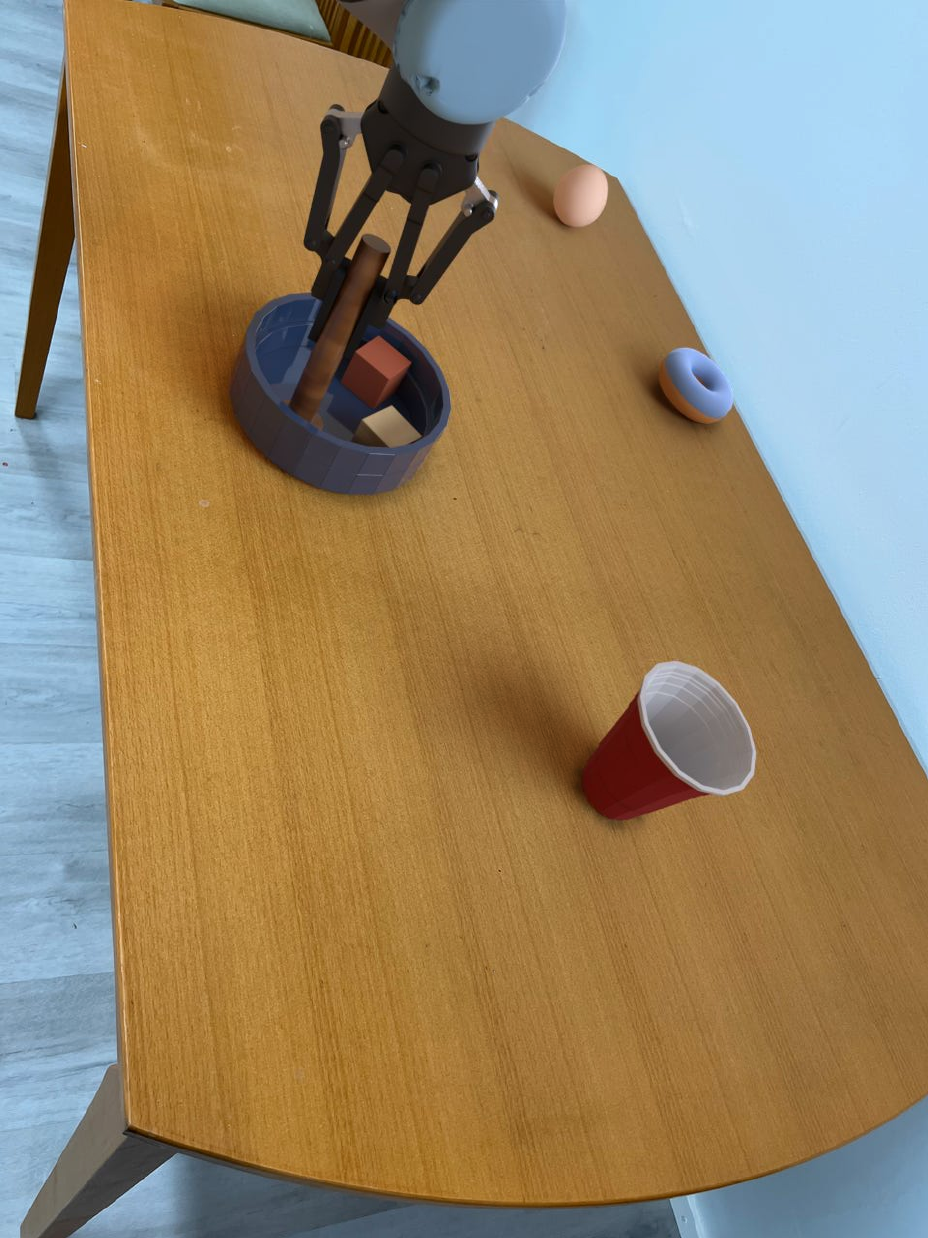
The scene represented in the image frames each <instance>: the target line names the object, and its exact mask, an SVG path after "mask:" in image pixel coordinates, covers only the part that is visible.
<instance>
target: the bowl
mask: <svg viewBox="0 0 928 1238" xmlns="http://www.w3.org/2000/svg"><path fill="white" fill-rule="evenodd" d="M322 302H323V301H321V300H319V299H317V298H315V297H313V296H311V291H309V292H297V293H295V292H294V293H287V294H286V295H285V294H284V295H282V296H280V297H276V298H273V299H271V300H269V301H268V302H267V303H266V304H264V305H263V306H262V307H261V308H259V309H258V310H257V311H256V312H255V313H254V315H253V317H252V318H251V319H250V322H249V324H248V326H247V328H246V330H245V332H244V336H243V339H242V341H241V344H240V347H239V350H238V352H237V355H236V358H235V361H234V364H233V367H232V369H231V372H230V377H229V390H228V391H229V392H228V394H229V399H230V402H231V406H232V410H233V413H234V416H235V419H236V420H237V422H238V424H239V425H240V427H241V429H242V430H243V432H244V433H245V435H246V437H247V438H248V439H249V441H250V442H251V443H252V444H253V445H254V446H255V447H256V449H257V450H258V451H259V452H260V453H261V454H262V455H263V456H264V457H265V458H266V459H267V460H269V461H270V463H272V464H273V465H275V466H276V467H277V468H279V469H280V470H282V471H283V472H285V473H287V474H288V475H289V476H291V477H292V478H295V479H297V480H299V481H301V482H302V483H305V484H307V485H310V486H311V487H312V486H313V487H314V488H317V489H320V490H324V491H327V492H330V493H331V492H332V493H336V494H340V495H341V494H342V495H350V496H351V495H353V496H361V495H362V496H374V495H379V494H382V493H383V494H384V493H386V492H391V491H392V492H393V491H394V490H396V489H398V488H400V487H401V486H403V485H405V484H407V483H408V482H410V481H412V480H413V478H414V477H415V476H416V475H417V474H418V472H419V471H420V470H421V468H422V467H423V466H424V465H425V462H426V461H427V459H428V458H429V456H430V455H431V453H432V451H433V450H434V449H435V446H436V445H437V443H438V441H439V440H440V438H441V437H442V435H443V433H444V432H445V431H446V428H447V427H448V424H449V419H450V416H451V412H452V401H451V392H450V388H449V385H448V382H447V380H446V378H445V375H444V373H443V370H442V368H441V367H440V366H439V364H438V363H437V361H436V360H435V358H434V357H433V355H432V354H431V352H430V351H429V350H428V348H426V346H425V345H424V344H422V343H421V341H419V339H417V337H416V336H414V335H413V334H412V332H410V331H409V330H408V329H406V328H405V327H404V326H402V325H401V324H399V323H398V322H397V321H395V320H393V319H392V318H391V317H390V316H389V317H388V319H387V321H386V323H385V325H384V326H383V327H382V328H381V329H377V328H375V327H373V326H371V325H368V327H367V329H366V331H365V333H364V335H363V337H362V339H361V341H360V343H359V345H358V347H357V350H358V349H359V348H361V347H362V346H364V345H365V344H367V343H368V342H370V341H371V340H373V339H374V338H376V337H377V336H378V335H379V336H380V337H381V338H383V339H384V340H385V341H386V342H387V343H389V344H390V345H391V346H392V347H393V348H395V349H396V350H397V351H398V352H399V353H401V354H402V355H403V356H404V357H405V358H407V359H408V360H409V361H410V362H411V365H410V367H409V368H408V370H407V372H406V374H405V376H404V378H403V379H402V381H401V383H400V385H399V387H398V389H397V391H396V392H395V393H394V394H393V395H391V396H390V397H389V398H388V399H386V400H385V401H384V402H382V403H381V404H380V405H378V406H377V407H376V408H375V409H372V408H371V407H370V406H368V405H367V404H366V403H365V402H364V401H362V400H361V399H360V398H359V397H358V396H356V395H355V394H354V393H353V392H352V391H350V390H349V389H348V388H347V387H345V386H344V385H343V384H342V383H341V380H342V378H343V376H344V374H345V372H346V370H347V368H348V365H349V363H350V361H351V360H350V359H348V358H346V357H344V356H343V357H342V359H341V361H340V363H339V366H338V368H337V370H336V372H335V374H334V376H333V379H332V381H331V383H330V385H329V387H328V389H327V392H326V394H325V396H324V398H323V400H322V402H321V405H320V407H319V409H318V411H317V413H318V414H319V415H320V417H321V418H322V421H323V429H322V430H320V429H318V428H316V427H314V426H313V425H311V424H310V423H309V422H307V421H306V420H304V419H303V418H301V417H300V416H299V415H297V414H296V413H294V412H293V411H292V410H291V409H290V408H289V407H288V406H287V405H286V404H285V403H284V402H283V401H282V400H285V399H290V400H291V397H292V395H293V393H294V391H295V388H296V386H297V384H298V381H299V379H300V377H301V375H302V372H303V370H304V368H305V365H306V363H307V361H308V358H309V356H310V354H311V352H312V349H313V347H314V345H315V342H314V341H312V340H310V339H308V335H309V333H310V330H311V328H312V326H313V323H314V321H315V319H316V316H317V314H318V312H319V309H320V307H321V305H322ZM357 350H356V351H357ZM391 405H392V406H393V407H394V408H395V409H396V410H397V411H398V412H399V413H400V414H401V415H402V416H403V417H404V418H405V419H406V420H407V421H408V423H409V424H410V425H411V426H412V427H413V428H414V429H415V430H416V431H417V432H418V433H419V434H420V435H421V436H422V438H421V439H420V440H418V441H417V442H415V443H413V444H408V445H403V446H398V447H393V448H386V447H368V446H364V445H360V444H356V443H353V442H351V440H352V438H353V436H354V434H355V432H356V430H357V428H358V426H359V424H360V423H361V421H362V419H364V418H366V417H368V416H370V415H372V414H374V413H377V412H379V411H381V410H383V409H385V408H387V407H389V406H391Z"/></svg>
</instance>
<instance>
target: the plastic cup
mask: <svg viewBox="0 0 928 1238" xmlns="http://www.w3.org/2000/svg"><path fill="white" fill-rule="evenodd" d="M756 758H757V750H756V745H755V742H754V737H753V733H752V730H751V727H750V725H749V723H748V721H747V719H746V718H745V715H744V714H743V712H742V709H741V708H740V706H739V704H738V703H737V701H736V700H735V699H734V697H732V696H731V694H729V693H728V691H727V690H726V689H725V688H724V687H723V686H722V684H721V683H720V682H719V681H717V680H716V679H715V678H713V677H712V676H711V675H709V674H708V673H706V672H705V671H703V670H702V669H700V668H699V667H698V666H694V665H692V664H689V663H685V662H681V661H678V660H672V661H671V660H670V661H666V662H658V663H656V664H655V665H654V666H653V667H652V668H651V669H650V670H649V671H648V672H647V674H645V675H644V677H643V678H642V679H641V683H640V688H639V689H638V691H637V692H636V694H635V695H634V698H633V699H632V700H631V701H630V702H629V703H628V707H627V708H626V709H625V710H624V712H623V713H622V714H621V715H620V716H619V718H618V719H617V720H616V722H615V723H614V724H613V726H611V728H610V729H609V731H608V732H607V733H606V735H604V737H603V738H602V739H601V741H600V742H599V745H598V747H597V748H596V749H595V750H594V751H593V753H592V754H591V755H590V756H589V758H588V759H587V760H586V762H585V765H584V767H583V771H582V773H581V783H582V790H583V792H584V794H585V796H586V798H587V800H588V802H589V803H590V805H592V807H593V808H594V809H595V810H596V812H597V813H599V814H600V815H602V816H604V817H605V818H607V819H609V820H614V821H621V822H622V821H630V820H632V819H634V818H639V817H641V816H644V815H646V814H652V813H654V812H657V811H660V810H663V809H666V808H670V807H671V806H672V807H673V806H675V805H678V804H680V803H683V802H687V801H688V800H692V799H696V798H701V797H706V796H709V795H711V796H712V795H714V796H719V797H722V796H727V795H730V794H733V793H736V792H740V791H743V790H744V789H745V788H746V787H747V785H748V784H749V782H750V781H751V780H752V778H753V777H754V776H755V768H756V761H757V759H756Z"/></svg>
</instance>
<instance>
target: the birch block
mask: <svg viewBox="0 0 928 1238" xmlns="http://www.w3.org/2000/svg"><path fill="white" fill-rule="evenodd" d="M421 438H422V436H421V435H420V434H419V433H418V432H417V431H416V430H415V429H414V428H413V427H412V426H411V425H410V424H409V423H408V421H407V420H406V419H405V418H404V417H403V416H402V415H401V414H400V413H399V412H398V411H397V410H396V409H395V408H394V407H393V406H392V405H391V406H389V407H387V408H385V409H383V410H381V411H379V412H377V413H374V414H372V415H370V416H368V417H366V418H364V419H362V421H361V423H360V424H359V426H358V428H357V430H356V432H355V434H354V436H353V438H352V440H351V442H353V443H356V444H360V445H364V446H368V447H386V448H393V447H398V446H403V445H408V444H413V443H415V442H417V441H418V440H420V439H421Z"/></svg>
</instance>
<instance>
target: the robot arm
mask: <svg viewBox="0 0 928 1238" xmlns="http://www.w3.org/2000/svg"><path fill="white" fill-rule="evenodd" d="M335 1H336V2H337V3H338V4H339V5H340V6H342V7H343V8H344V9H345V10H346V11H348V13H350V14H351V15H352V16H353V17H354V18H356V19H357V20H358V21H359V22H360V23H362V24H363V25H364V26H365V27H366V28H367V29H369V31H370V32H372V33H373V34H375V35H376V37H378V38H379V39H380V40H381V41H382V42H383V43H384V44H385V45H386V47H387V48H388V49H389V50H390V51H391V53H392V57H393V59H392V61H391V64H390V67H389V69H388V71H387V74H386V76H385V79H384V81H383V83H382V85H381V86H382V87H381V89H380V91H379V95H378V96H377V98H376V99H374V101H372V102H371V103H369V105H367V106H366V107H365V109H364V111H363V112H361V111H346V109H345V108H344V107H343V106H342V105H341V104H338V103H333V104H332V105H330V107H329V108H328V110H327V111H326V113H325V114H324V117H323V119H322V120H321V122H320V125H319V131H320V137H321V138H320V140H321V146H322V158H321V161H320V166H319V170H318V175H317V179H316V183H315V188H314V193H313V197H312V201H311V206H310V210H309V214H308V219H307V223H306V227H305V231H304V235H303V241H302V244H303V246H304V248H305V249H306V250H307V251H309V252H313V253H315V254H316V255H318V258H319V259H320V263H321V264H320V266H319V268H318V272H317V274H316V276H315V279H314V281H313V283H312V286H311V289H310V292H311V296H313V297H315V298H317V299H319V300H321V301H323V302H322V305H321V307H320V309H319V312H318V314H317V316H316V319H315V321H314V323H313V326H312V328H311V330H310V333H309V335H308V339H310V340H312V341H314V342H316V341H317V339H318V337H319V334H320V332H321V330H322V327H323V325H324V323H325V321H326V318H327V316H328V314H329V311H330V309H331V307H332V305H333V302H334V300H335V298H336V295H337V293H338V291H339V288H340V286H341V284H342V282H343V279H344V277H345V275H346V272H347V269H348V266H349V264H350V262H351V260H352V258H349V257H347V256H346V255H347V253H349V250H350V249H351V247H352V245H353V244H354V242H355V241H356V239H357V237H358V235H359V234H360V232H361V230H362V229H363V227H364V225H365V224H366V222H367V221H368V219H369V217H370V216H371V214H372V213H373V211H374V209H375V207H376V206H377V204H378V203H379V202H380V200H381V199H382V197H383V196H384V194H385V192H388V193H392V194H395V195H399V196H400V197H401V198H402V199H403V200H405V201H406V202H407V203H408V204H410V205H409V208H408V212H407V216H406V218H405V219H406V220H405V223H404V225H403V229H402V232H401V236H400V239H399V242H398V245H397V248H396V251H395V254H394V258H393V261H392V264H391V267H390V270H389V273H388V277H386V276H385V275H382V274H381V275H380V277H379V279H378V281H377V283H376V285H375V287H374V289H373V291H372V294H371V296H370V298H369V300H368V302H367V304H366V307H365V309H364V311H363V313H362V315H361V317H360V320H359V322H358V324H357V326H356V328H355V330H354V333H353V335H352V337H351V339H350V341H349V344H348V346H347V348H346V350H345V352H344V354H343V356H344V357H346V358H348V359H350V360H352V358H353V356H354V354H355V352H356V350H357V347H358V345H359V343H360V341H361V339H362V337H363V335H364V333H365V331H366V329H367V327H368V325H371V326H373V327H375V328H377V329H381V328H382V327H383V326H384V325H385V323H386V321H387V319H388V317H390V316H391V313H392V311H393V309H394V307H395V306H396V305H397V303H398V302H399V301H400V300H408V301H409V302H410V303H411V304H412V305H415V306H420V305H422V304H423V303H424V302H425V300H426V299H427V298H428V296H429V295H430V293H431V292H432V291H433V290H434V288H435V287H436V285H437V284H438V282H439V281H440V279H442V277H443V275H444V274H445V273H446V271H447V270H448V269H449V267H450V266H451V265H452V263H453V262H454V260H455V259H456V257H457V256H458V254H459V253H460V252H461V250H462V249H463V248H464V246H465V245H466V244H467V243H468V241H469V240H470V238H471V237H472V235H473V234H475V233H476V232H478V231H480V230H481V229H482V228H484V227H486V226H487V225H488V224H490V223H492V222H493V221H494V219H495V216H496V213H497V208H498V205H499V202H500V196H499V194H498V193H497V192H496V191H495V190H493V189H487V187H486V186H485V185H484V183H483V182H482V180H481V178H479V177H478V174H479V171H480V155H481V154H482V152H483V149H484V148H485V146H486V144H487V142H488V140H489V137H490V136H491V134H492V132H493V130H494V128H495V126H496V124H497V121H498V120H500V119H502V118H504V117H506V116H508V115H510V114H512V113H514V112H515V111H517V110H519V109H520V108H521V107H523V106H524V105H525V104H526V103H527V102H528V101H529V100H530V98H531V97H532V96H534V95H536V94H537V93H538V91H539V89H540V88H541V87H542V86H543V85H544V84H545V83H546V82H547V80H549V78H550V76H551V74H552V73H553V71H554V70H555V68H556V66H557V64H558V61H559V60H560V57H561V53H562V51H563V48H564V46H565V40H566V35H567V27H568V14H567V4H566V0H335ZM357 135H361V137H362V140H363V145H364V149H365V152H366V156H367V160H368V165H369V169H370V172H371V173H370V175H369V177H368V178H367V180H366V181H365V184H364V186H363V187H362V189H361V191H360V192H359V194H358V196H357V198H356V199H355V200H354V202H353V204H352V206H351V208H350V209H349V211H348V213H347V214H346V216H345V218H344V220H343V221H342V223H341V224H340V226H339V228H338V230H337V232H336V233H335V235H333V234H332V233H331V232H330V231H328V229H329V224H330V220H331V217H332V212H333V208H334V204H335V200H336V195H337V192H338V188H339V183H340V180H341V176H342V170H343V168H344V163H345V160H346V155H347V152H348V149H350V148H352V146H353V145H354V143H355V141H356V139H357V137H358V136H357ZM462 192H465V195H464V196H463V198H462V200H461V201H462V202H461V205H460V210H461V211H459V213H458V214H457V215H456V217H455V219H454V220H453V221H452V223H451V224H450V226H449V227H448V229H447V230H446V231H445V233H444V235H443V236H442V237H441V239H440V240H439V242H438V243H437V245H436V246H435V247H434V249H433V250H432V252H431V253H430V255H429V256H428V258H427V259H426V260H425V262H424V264H423V265H422V266H421V268H420V269H419V271H418V272H417V273H416V275H412V274H408V272H409V269H410V267H411V263H412V260H413V258H414V254H415V252H416V248H417V245H418V242H419V239H420V236H421V233H422V230H423V227H424V224H425V221H426V217H427V214H428V212H429V209H430V206H433V205H435V204H437V203H439V202H443V201H444V200H447V199H448V198H451V197H453V196H455V195H458V194H460V193H462Z"/></svg>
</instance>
